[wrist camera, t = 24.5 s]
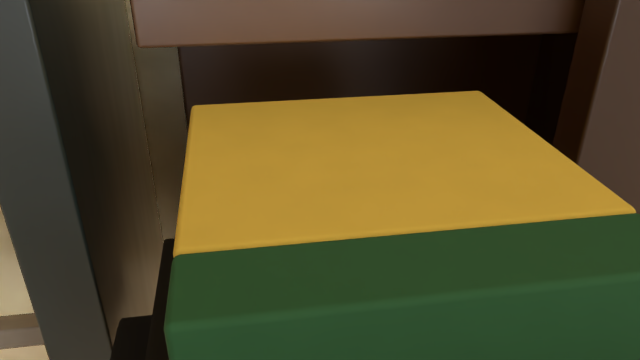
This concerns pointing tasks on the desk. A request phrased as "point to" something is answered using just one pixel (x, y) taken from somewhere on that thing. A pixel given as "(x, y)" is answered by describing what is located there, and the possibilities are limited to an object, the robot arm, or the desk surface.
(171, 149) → the desk surface
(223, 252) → the sponge
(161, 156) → the desk surface
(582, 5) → the drawer
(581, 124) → the cabinet
